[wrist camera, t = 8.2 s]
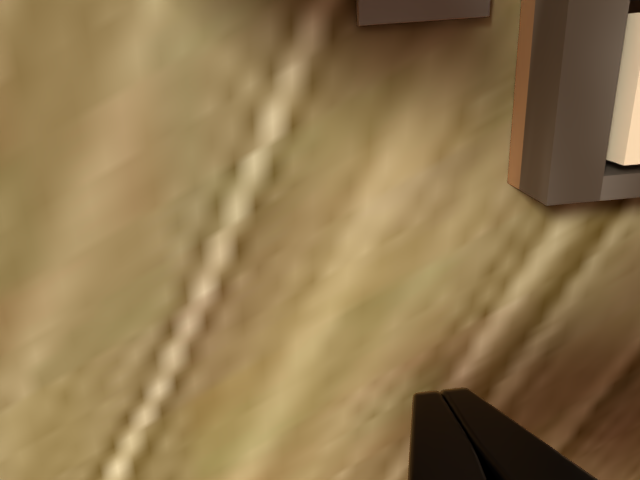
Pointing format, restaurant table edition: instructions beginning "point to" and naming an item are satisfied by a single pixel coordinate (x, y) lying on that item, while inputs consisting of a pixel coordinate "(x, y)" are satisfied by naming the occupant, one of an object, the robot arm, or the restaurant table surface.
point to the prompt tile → (418, 10)
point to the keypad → (569, 101)
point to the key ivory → (627, 100)
